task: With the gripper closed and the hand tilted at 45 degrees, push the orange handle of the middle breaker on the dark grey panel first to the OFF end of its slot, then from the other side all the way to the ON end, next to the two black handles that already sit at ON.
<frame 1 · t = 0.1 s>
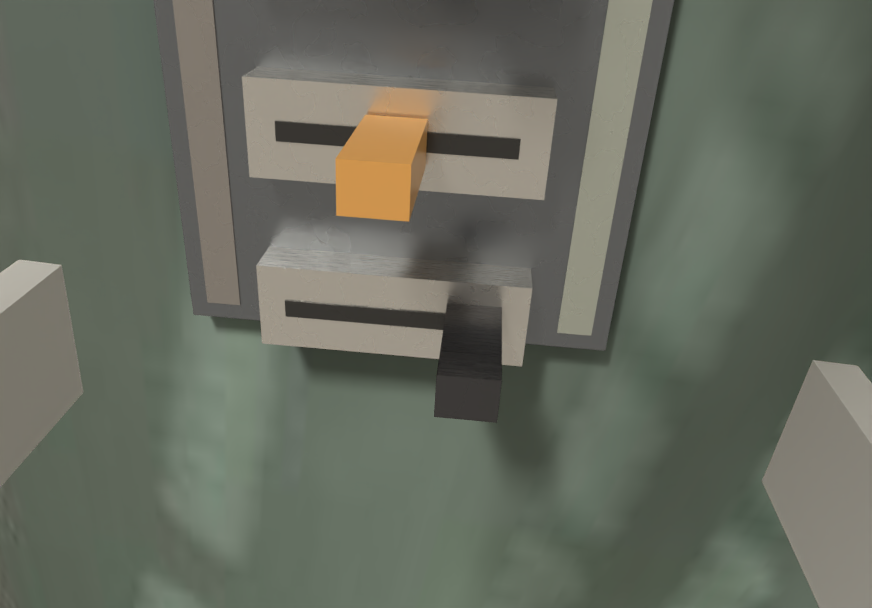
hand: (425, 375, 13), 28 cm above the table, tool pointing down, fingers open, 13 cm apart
breaker panel: (406, 119, 39), on the table
tripped breaker handle: (385, 163, 32), point 8 cm above the table, slide at 0.0 cm
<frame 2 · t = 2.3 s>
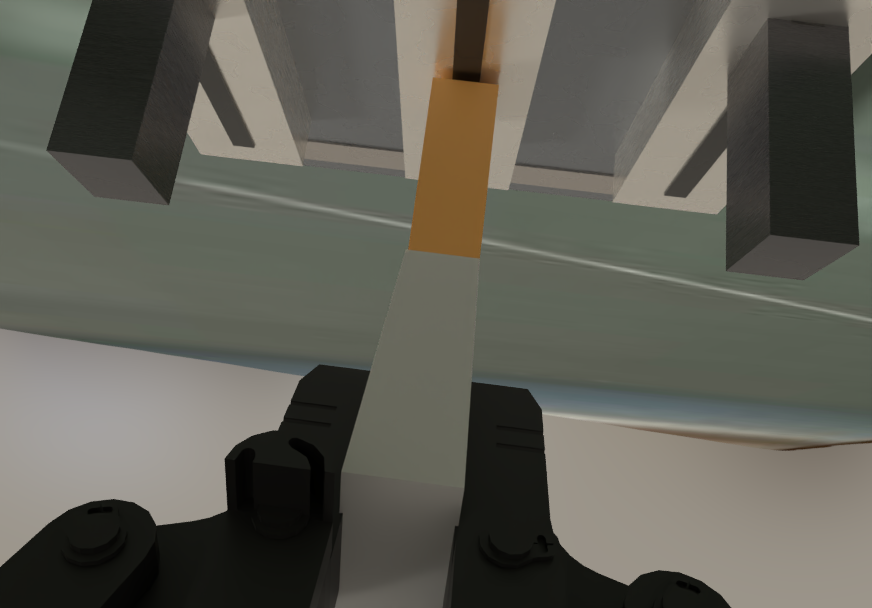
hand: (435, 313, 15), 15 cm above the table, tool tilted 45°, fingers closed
breaker panel: (475, 9, 29), on the table
tripped breaker handle: (453, 187, 26), point 8 cm above the table, slide at 0.0 cm
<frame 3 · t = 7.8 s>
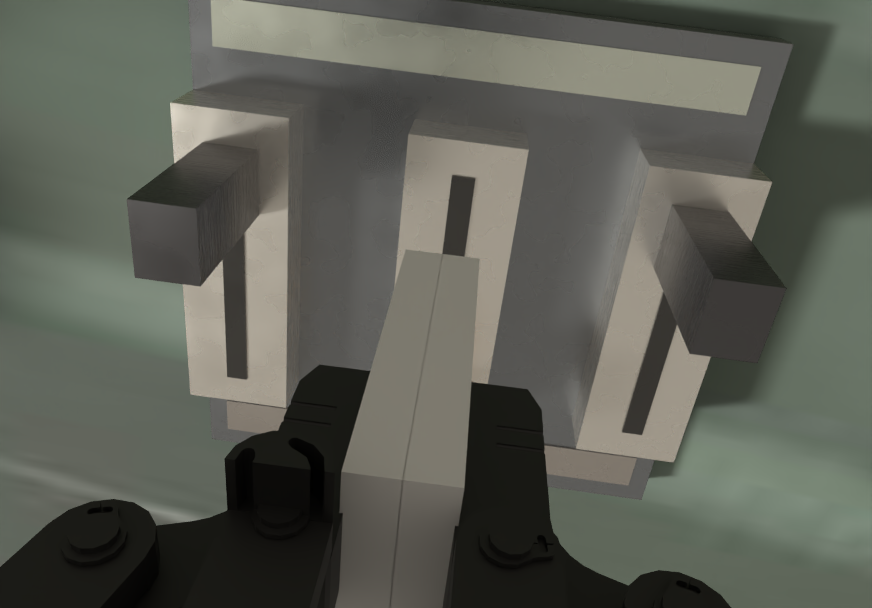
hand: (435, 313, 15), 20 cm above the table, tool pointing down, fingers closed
breaker panel: (452, 263, 37), on the table
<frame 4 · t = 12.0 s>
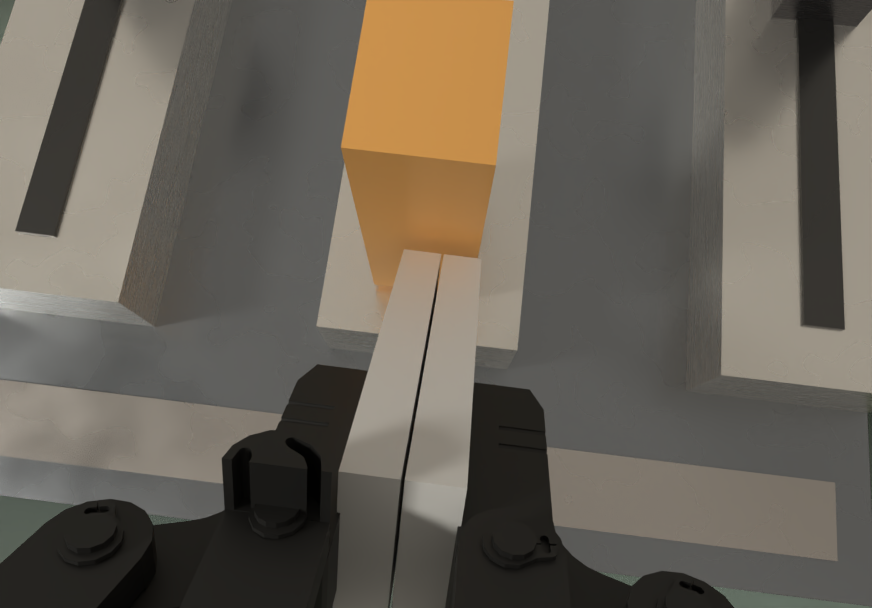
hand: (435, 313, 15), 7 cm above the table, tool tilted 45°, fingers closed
breaker panel: (447, 145, 24), on the table
tripped breaker handle: (429, 171, 15), point 8 cm above the table, slide at -4.8 cm, touching gripper
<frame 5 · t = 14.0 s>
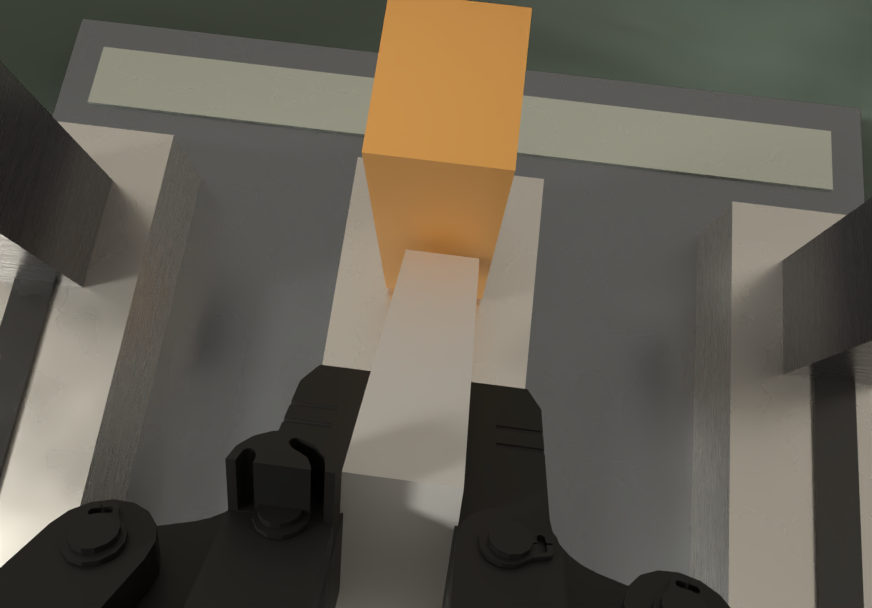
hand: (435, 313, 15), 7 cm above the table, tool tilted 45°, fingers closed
breaker panel: (415, 463, 21), on the table
tripped breaker handle: (444, 175, 15), point 8 cm above the table, slide at 5.4 cm, touching gripper
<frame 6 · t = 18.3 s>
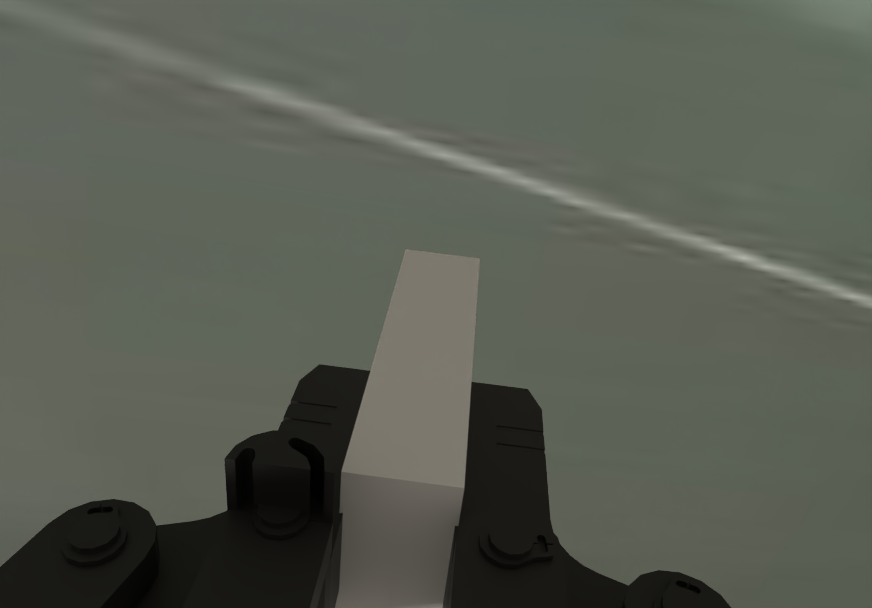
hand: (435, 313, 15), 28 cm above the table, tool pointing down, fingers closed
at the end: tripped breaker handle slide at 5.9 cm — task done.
